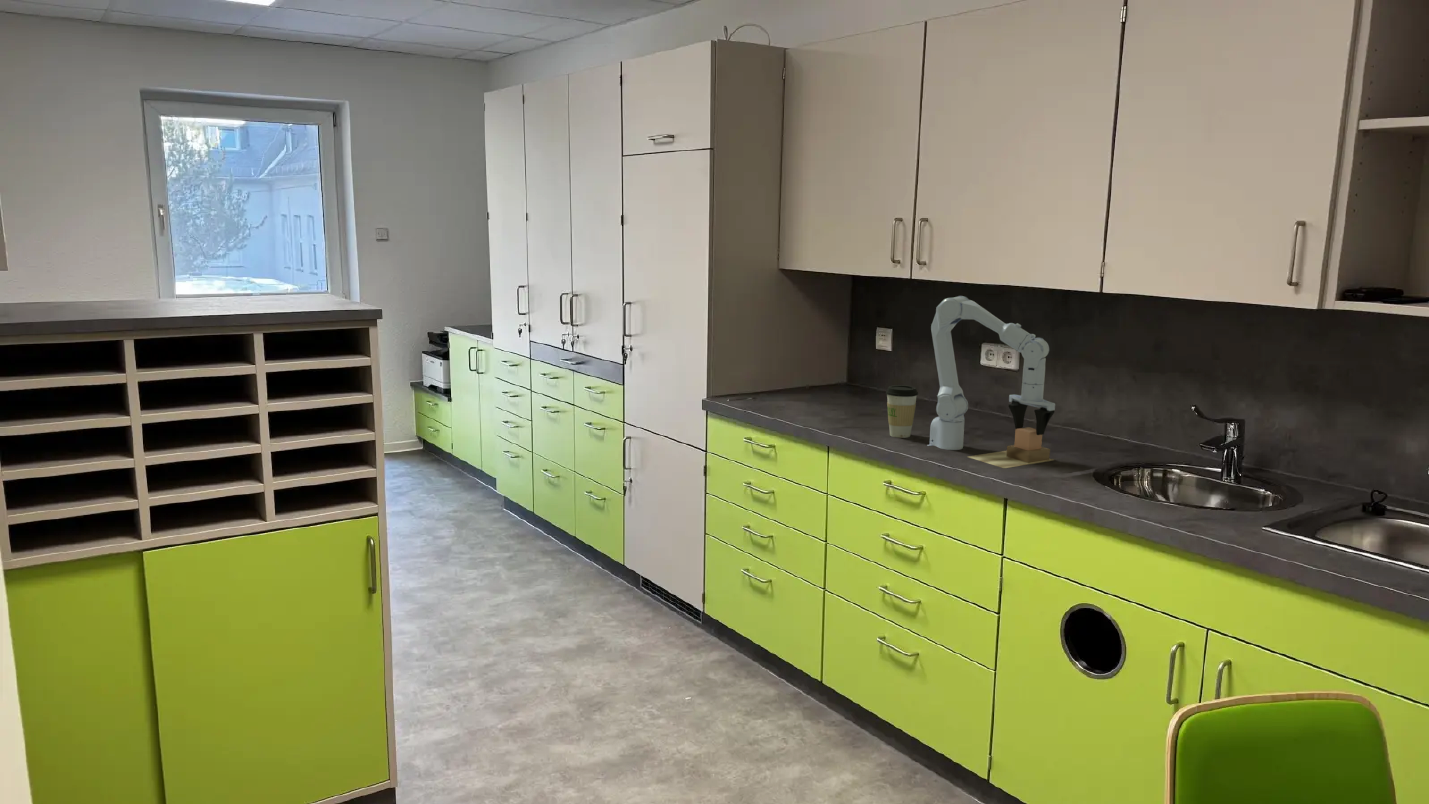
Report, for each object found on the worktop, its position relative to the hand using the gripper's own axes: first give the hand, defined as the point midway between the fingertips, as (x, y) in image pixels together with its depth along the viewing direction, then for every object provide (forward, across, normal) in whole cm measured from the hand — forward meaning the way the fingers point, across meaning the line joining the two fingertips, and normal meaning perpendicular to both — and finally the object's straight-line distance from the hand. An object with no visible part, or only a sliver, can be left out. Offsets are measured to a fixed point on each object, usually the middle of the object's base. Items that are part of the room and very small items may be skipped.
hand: (1029, 431), depth 261 cm
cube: (+4, 0, 0) cm, 5 cm away
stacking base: (+8, -2, -4) cm, 10 cm away
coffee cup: (+9, -41, -11) cm, 43 cm away
